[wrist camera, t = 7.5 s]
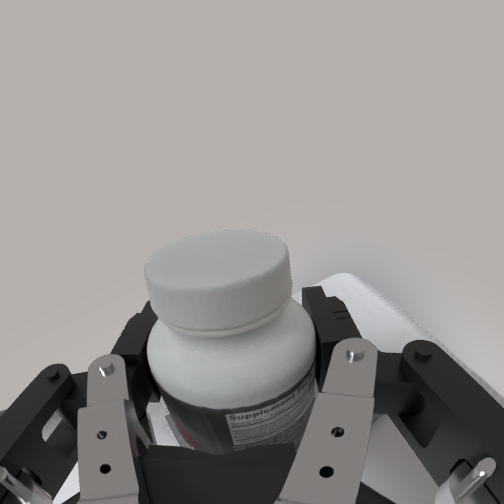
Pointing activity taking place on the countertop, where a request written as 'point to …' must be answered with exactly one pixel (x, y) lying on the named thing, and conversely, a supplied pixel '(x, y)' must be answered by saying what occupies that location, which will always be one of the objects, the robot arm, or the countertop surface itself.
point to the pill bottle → (230, 341)
